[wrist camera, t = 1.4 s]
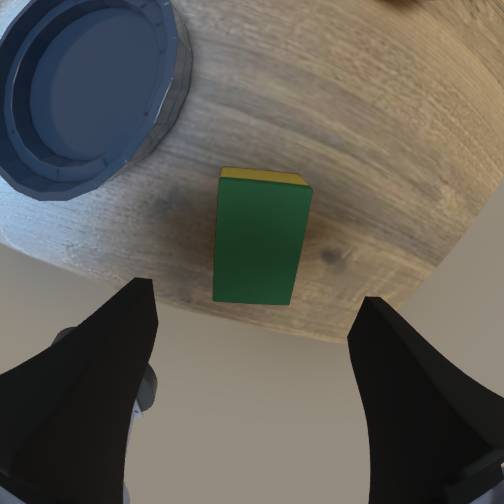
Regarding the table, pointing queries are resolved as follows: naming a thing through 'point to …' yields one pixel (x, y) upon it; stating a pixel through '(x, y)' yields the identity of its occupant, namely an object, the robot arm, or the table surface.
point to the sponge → (258, 235)
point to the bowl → (87, 91)
